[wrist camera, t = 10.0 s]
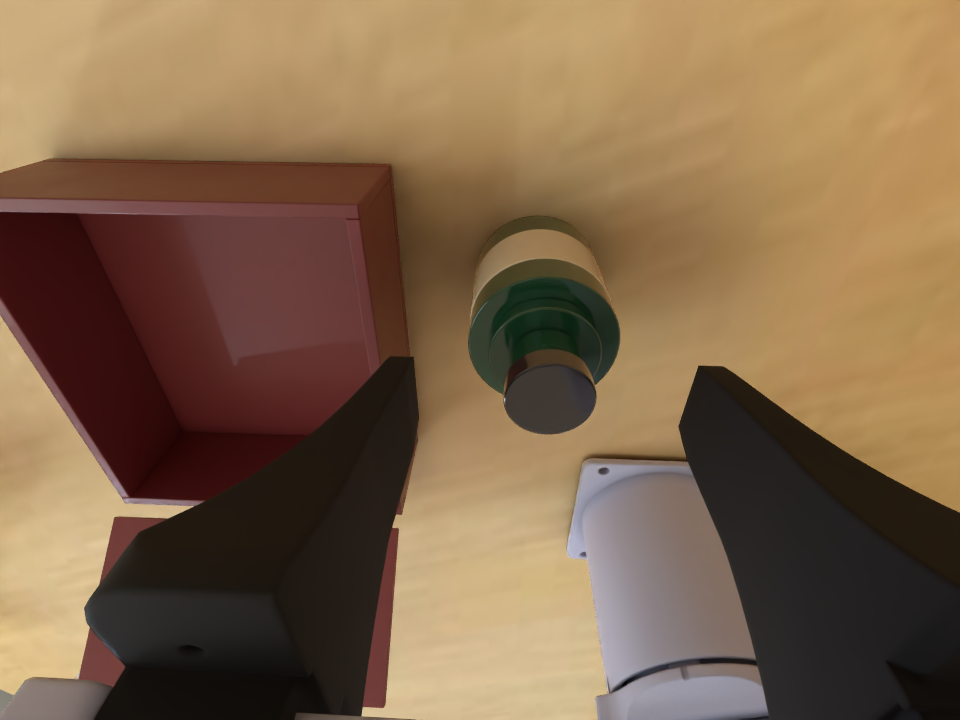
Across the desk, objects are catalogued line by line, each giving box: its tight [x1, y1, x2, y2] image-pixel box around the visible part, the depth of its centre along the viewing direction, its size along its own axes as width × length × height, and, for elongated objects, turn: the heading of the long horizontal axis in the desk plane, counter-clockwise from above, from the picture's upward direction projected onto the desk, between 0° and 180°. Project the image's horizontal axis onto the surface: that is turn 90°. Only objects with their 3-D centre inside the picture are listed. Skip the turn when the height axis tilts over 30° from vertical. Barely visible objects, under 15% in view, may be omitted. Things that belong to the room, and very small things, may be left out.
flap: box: [79, 517, 399, 708], centre depth 19 cm, size 12×6×1 cm
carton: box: [0, 159, 418, 515], centre depth 18 cm, size 12×13×4 cm
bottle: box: [468, 216, 620, 434], centre depth 15 cm, size 4×4×8 cm
